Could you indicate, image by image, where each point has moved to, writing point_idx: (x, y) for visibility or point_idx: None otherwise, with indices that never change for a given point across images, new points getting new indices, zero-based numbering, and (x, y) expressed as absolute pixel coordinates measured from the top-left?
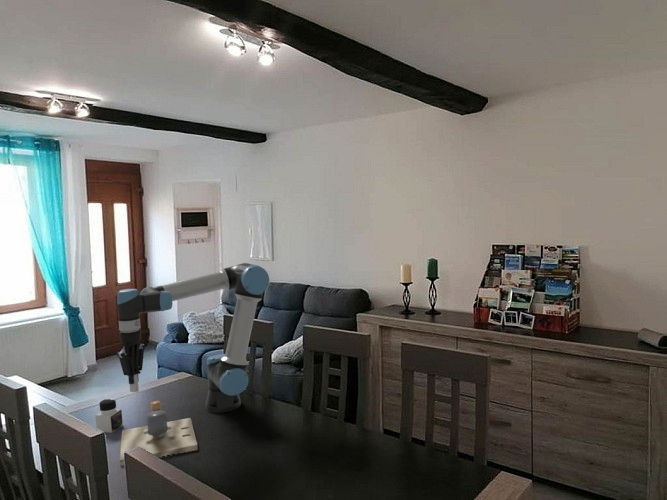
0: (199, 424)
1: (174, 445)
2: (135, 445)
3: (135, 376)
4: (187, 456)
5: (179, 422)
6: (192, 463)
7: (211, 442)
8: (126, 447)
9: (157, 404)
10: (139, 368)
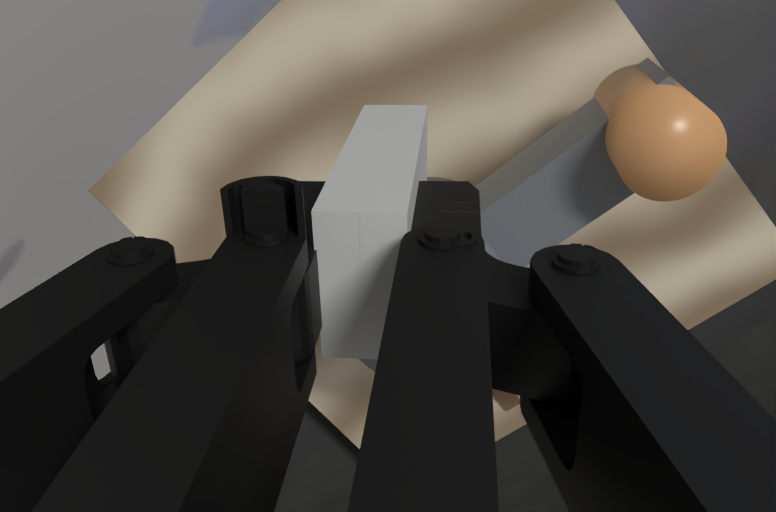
0: (751, 323)
1: (357, 389)
2: (277, 151)
3: (342, 343)
4: (329, 457)
5: (701, 230)
6: (279, 507)
7: (505, 496)
8: (233, 106)
9: (638, 192)
10: (524, 404)
